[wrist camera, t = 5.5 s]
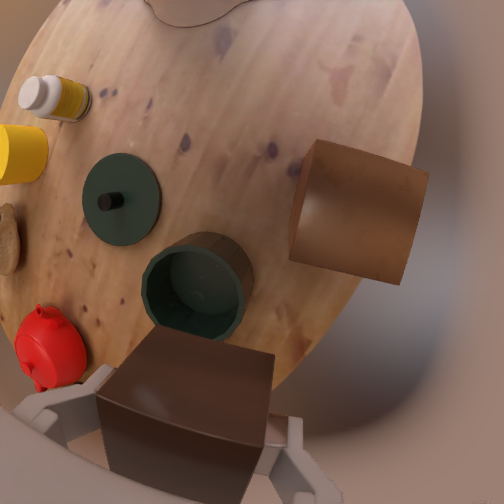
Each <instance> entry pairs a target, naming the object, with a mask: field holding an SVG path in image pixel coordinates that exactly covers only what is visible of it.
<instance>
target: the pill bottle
mask: <svg viewBox="0 0 504 504" xmlns="http://www.w3.org/2000/svg"><path fill="white" fill-rule="evenodd" d="M18 103H19V106H20V107H21V108H22V109H26V110H30V111H31V113H32V114H33V115H34V116H35V117H38V118H43V119H51V120H58V121H65V122H76V121H78V120H80V119H81V118H82V117H83V116H84V115H85V114H86V112H87V111H88V109H89V106H90V103H91V94H90V91H89V89H88V88H87V87H86V86H84V85H82V84H80V83H76V82H73V81H71V80H68V79H65V78H62V77H58V76H55V75H47V76H44V77H42V78H40V77H36V76H33V77H30V78H28V79H27V80H26V81H25V82H24V84H23V86H22V87H21V90H20V92H19V97H18Z"/></svg>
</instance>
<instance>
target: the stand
mask: <svg viewBox="0 0 504 504" xmlns="http://www.w3.org/2000/svg"><path fill="white" fill-rule="evenodd" d="M428 178H429V173H428V172H425V171H422V170H420V169H417V168H414V167H411V166H408V165H405V164H403V163H400V162H397V161H393V160H390V159H387V158H384V157H381V156H378V155H374V154H371V153H368V152H364V151H361V150H358V149H354V148H350V147H347V146H343V145H339V144H336V143H332V142H328V141H324V140H320V139H316V141H315V142H314V144H313V145H312V147H311V148H310V150H309V151H308V153H307V154H306V156H305V157H304V159H303V162H302V167H301V171H300V176H299V180H298V185H297V189H296V194H295V198H294V203H293V207H292V212H291V216H290V241H289V260H291V261H295V262H299V263H303V264H308V265H312V266H316V267H321V268H325V269H329V270H334V271H338V272H342V273H347V274H351V275H355V276H360V277H364V278H368V279H373V280H377V281H382V282H385V283H390V284H394V285H400V282H401V279H402V276H403V273H404V270H405V266H406V264H407V260H408V257H409V254H410V250H411V247H412V243H413V240H414V236H415V232H416V229H417V225H418V221H419V217H420V213H421V209H422V205H423V201H424V196H425V192H426V187H427V182H428Z"/></svg>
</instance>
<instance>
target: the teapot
mask: <svg viewBox="0 0 504 504" xmlns="http://www.w3.org/2000/svg"><path fill="white" fill-rule="evenodd" d="M14 345H15V351H16V354H17V357H18V359H19V361H20V365H21V368H22V370H23V372H24V373H25V374H27V375H28V376H30V377H31V378H32V379H33V380H34V381H35V389H36V390H37V392H38V393H41V392H45V391H46V390H47V389H48V388H56V387H61V386H65V385H68V384H71V383H74V382H76V381H77V380H79V379H80V378H81V376H82V375H83V373H84V371H85V369H86V367H87V353H86V349H85V346H84V343H83V340H82V338H81V336H80V334H79V333H78V331H77V330H76V328H75V326H74V325H73V324H72V323H71V322H70V321H69V320H68V319H67V318H66V317H65V316H64V315H63V314H62V313H61V311H60V310H59V309H57V308H55V307H46V308H42V307H41V306H40V304H37V306H36V309H35V310H34V311H33V312H31V313H30V314H29V315H28V316H26V317H25V319H24V320H23V322H22V324H21V326H20V328H19V330H18V332H17V335H16V338H15V342H14Z"/></svg>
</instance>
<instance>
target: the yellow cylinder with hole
mask: <svg viewBox="0 0 504 504" xmlns="http://www.w3.org/2000/svg"><path fill="white" fill-rule="evenodd" d="M47 157H48V142H47V138H46V135H45V133H44V132H43V131H42V130H41V129H40V128H37V127H28V126H18V125H6V124H0V185H8V184H17V183H26V182H33V181H35V180H36V179H37V178H38V177H39V176H40V175H41V174H42V172H43V170H44V168H45V165H46V162H47Z"/></svg>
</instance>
